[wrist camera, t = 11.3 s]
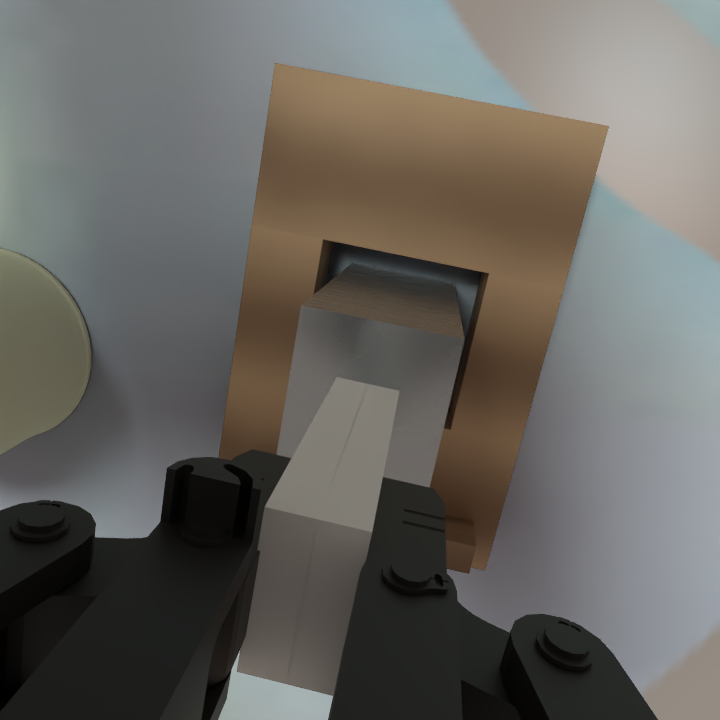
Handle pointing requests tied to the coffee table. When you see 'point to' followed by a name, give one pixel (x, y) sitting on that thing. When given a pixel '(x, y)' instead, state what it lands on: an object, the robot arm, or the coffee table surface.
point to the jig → (416, 256)
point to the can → (38, 351)
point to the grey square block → (379, 358)
